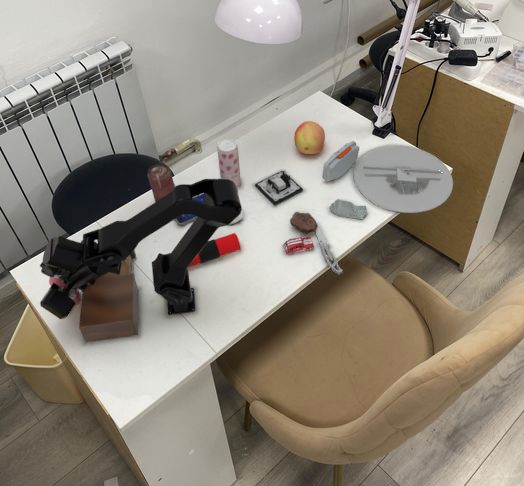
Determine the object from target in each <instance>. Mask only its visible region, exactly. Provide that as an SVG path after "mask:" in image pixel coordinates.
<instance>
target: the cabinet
mask: <svg viewBox="0 0 524 486" xmlns="http://www.w3.org/2000/svg"><path fill="white" fill-rule="evenodd" d="M139 295H140V294H139V287H138V283H137V280H136V278H135V274H134V273H133V274H127V275H120V276H112V277H105V278H98V279H97V280H96V281H95V283H94V285H93V286H89V285H87V287H86V289H85V290H84V291H81V300H80V302H81V303H80V311H79V321H78V329H79V331H80V332H81V334H82V336H83V338H84V340H85V342H86V343H93V342H98V341H108V340H115V339H122V338H128V337H129V338H130V337H135V336H138V335H139Z"/></svg>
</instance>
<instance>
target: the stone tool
mask: <svg viewBox="0 0 524 486" xmlns="http://www.w3.org/2000/svg"><path fill="white" fill-rule="evenodd" d="M329 209H330V211H331V213H334V215H336V216H337V217H343V218H345V217H346V218H348V219H349V218H350V219H359V220H364V218H365V217H366V216H368V210H367V206H366V205H356V204H354V203H353V202H351V201H348V200H344V199H339V198H338V199H336V200H335V201H334V202H332V203H331V204H330V205H329Z"/></svg>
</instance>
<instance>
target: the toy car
mask: <svg viewBox="0 0 524 486" xmlns="http://www.w3.org/2000/svg"><path fill="white" fill-rule="evenodd" d="M313 249H315V244H314V241H313V239H312V237H311V236H306V237H301V236H299V237H294V238H289V239H288V240H287V239H286V240H285V241H284V243H283V245H282V250H283V252H284V255H290V256H291V255H292V254H295V253H298V252H303V251H312V250H313Z"/></svg>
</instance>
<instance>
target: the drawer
mask: <svg viewBox="0 0 524 486" xmlns="http://www.w3.org/2000/svg"><path fill="white" fill-rule="evenodd" d="M135 250H136V249H135ZM135 250H134V251H133V253H132V254H131V255H129V256H128V257H127V258H126V259H125V260H124V261H122V263H121V270H120V274H119V275H117V274H114V273H110V272H109V273H106V274H105V275H103V276H101V277H100V278H105V277H112V276H120V275H127V274H134V273H133V272H134V271H133V270H134V262H133V260H136V259H137V254H136V251H135Z"/></svg>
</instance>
